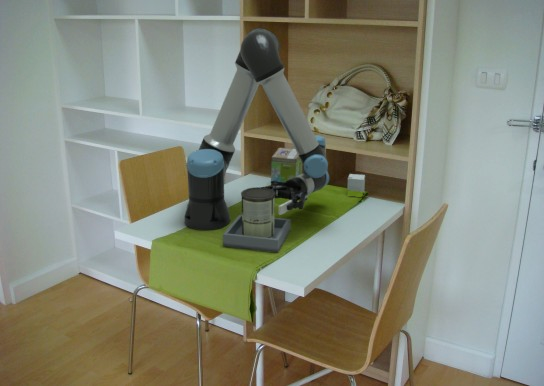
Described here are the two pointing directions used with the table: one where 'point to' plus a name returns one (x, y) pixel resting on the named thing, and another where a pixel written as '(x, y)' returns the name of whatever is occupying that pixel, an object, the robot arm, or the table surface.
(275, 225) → the grey square tray
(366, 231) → the table surface
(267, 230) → the coffee can
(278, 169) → the tea box
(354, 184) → the skincare box
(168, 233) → the table surface
